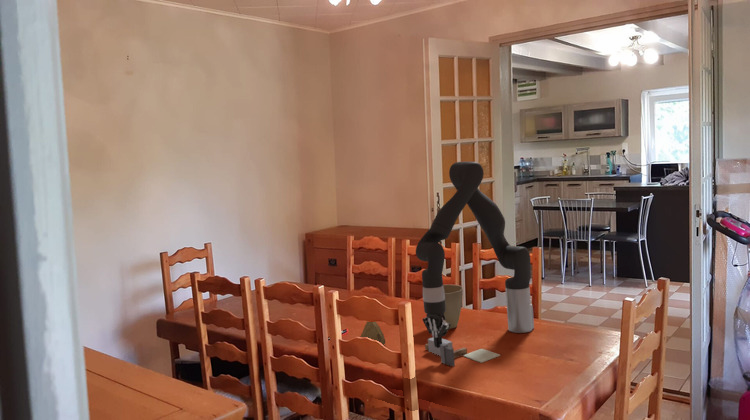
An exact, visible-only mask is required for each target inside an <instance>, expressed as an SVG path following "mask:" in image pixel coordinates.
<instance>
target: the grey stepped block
mask: <svg viewBox="0 0 750 420" xmlns="http://www.w3.org/2000/svg"><path fill="white" fill-rule="evenodd" d="M454 351H455V349H454V347H453V348H450V347H448V344H445V343H443V344H440V354H441V356H440V362H441V364H442V363H443V365H445V364H447V366H449V365H450V366H449V367H451V366H453V367H456V366H455V365H456V364H455V362H456V361H455V358H454Z"/></svg>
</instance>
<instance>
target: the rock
mask: <svg viewBox="0 0 750 420" xmlns="http://www.w3.org/2000/svg"><path fill="white" fill-rule="evenodd" d="M360 337H368V338H371V339H374V340H377V341H379V342H381V343H382V344H383V345H384V344H385V343H386V338H385V336H384V332H383V331H382V329H381V327H380V325H379V324H378V323H377V321H375V322H367V321H366V323H365V325H364V328H363V329H362V333H361V334H360Z"/></svg>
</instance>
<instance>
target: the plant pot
mask: <svg viewBox="0 0 750 420" xmlns="http://www.w3.org/2000/svg"><path fill="white" fill-rule="evenodd" d="M443 288H444V293H445V304H446V311H445V312H444V316H445V321H446V322H447V324H448V323H450V325H451V326H450V328H449V330H451V329H455V328H457V327H458V324H459V320H460V316H461V313H462V312H461V310H462V306H463V295H464V294H463V293H464V291H463V290H464V287H463V286H462V285H459V284H443Z"/></svg>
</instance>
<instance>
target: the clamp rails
mask: <svg viewBox="0 0 750 420" xmlns="http://www.w3.org/2000/svg"><path fill="white" fill-rule="evenodd" d="M425 349H426V351H427V350H428V351H429V348H428V343H425V344H424V350H425ZM467 349H468V348H466V347H460V348H458V349H456V350H455V349H454V359H456V358H459V357H464V356H463V355H465V354H468V350H467Z"/></svg>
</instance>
